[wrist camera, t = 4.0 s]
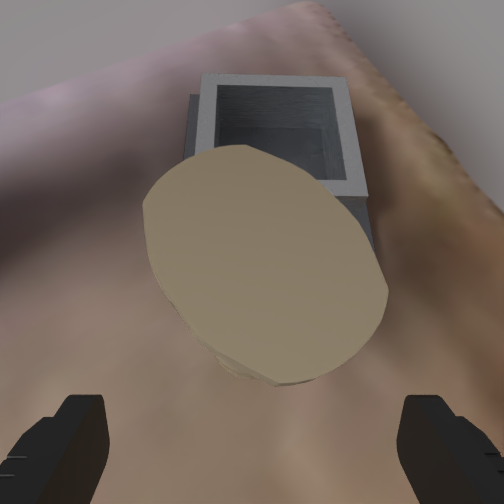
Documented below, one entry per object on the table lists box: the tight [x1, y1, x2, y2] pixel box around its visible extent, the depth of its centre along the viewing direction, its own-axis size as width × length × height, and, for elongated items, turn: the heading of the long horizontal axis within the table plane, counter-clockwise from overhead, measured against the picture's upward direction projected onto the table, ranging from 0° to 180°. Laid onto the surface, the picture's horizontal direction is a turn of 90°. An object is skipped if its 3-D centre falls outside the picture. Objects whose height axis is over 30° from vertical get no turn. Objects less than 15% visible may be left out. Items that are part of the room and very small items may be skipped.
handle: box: [142, 145, 389, 387], centre depth 15 cm, size 5×6×15 cm
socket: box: [183, 73, 376, 256], centre depth 26 cm, size 14×16×5 cm
